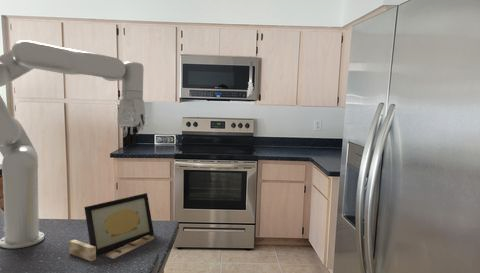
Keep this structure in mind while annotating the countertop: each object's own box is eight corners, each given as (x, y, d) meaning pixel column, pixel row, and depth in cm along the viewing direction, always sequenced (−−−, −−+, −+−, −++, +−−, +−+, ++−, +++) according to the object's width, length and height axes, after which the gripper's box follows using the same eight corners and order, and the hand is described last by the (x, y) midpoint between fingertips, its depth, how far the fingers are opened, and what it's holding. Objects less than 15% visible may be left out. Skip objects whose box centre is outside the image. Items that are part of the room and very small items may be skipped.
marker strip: (106, 256, 104) (106, 253, 104) (147, 237, 120) (147, 234, 120) (113, 258, 102) (113, 255, 102) (154, 239, 118) (154, 236, 118)
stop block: (69, 253, 105) (69, 241, 104) (74, 251, 106) (74, 239, 106) (91, 261, 100) (91, 248, 100) (95, 259, 102) (95, 246, 101)
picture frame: (93, 256, 104) (90, 207, 103) (79, 251, 109) (76, 205, 109) (154, 234, 122) (151, 193, 122) (139, 231, 127) (136, 191, 127)
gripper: (110, 94, 126) (109, 143, 128) (139, 95, 119) (138, 147, 121) (125, 95, 133) (124, 142, 134) (154, 97, 126) (153, 145, 127)
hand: (131, 144), depth 127 cm, fingers closed
